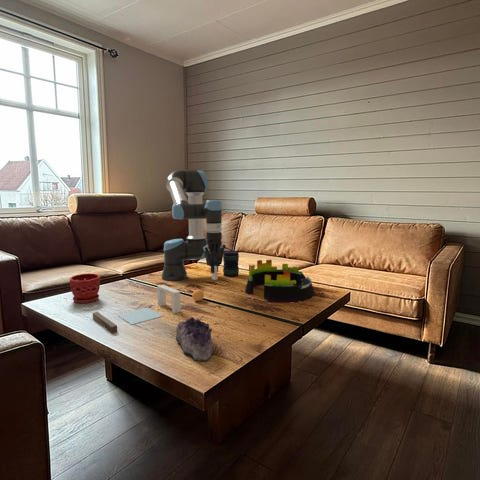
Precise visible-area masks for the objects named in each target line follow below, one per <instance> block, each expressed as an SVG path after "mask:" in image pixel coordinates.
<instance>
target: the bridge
mask: <svg viewBox="0 0 480 480" xmlns="http://www.w3.org/2000/svg"><path fill="white" fill-rule="evenodd" d="M167 294H169V295H171V308H172V310H171V312H172V313H173V314H178V313H181V309H182V308H181V291H180V290H178V289H175V288H172V287H170V286H167V285H165V284H160V285H157V305H158V306H159V307H162V306H166V305H167V300H166V299H167V298H166V297H167Z"/></svg>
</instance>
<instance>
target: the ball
mask: <svg viewBox="0 0 480 480" xmlns="http://www.w3.org/2000/svg"><path fill="white" fill-rule="evenodd" d="M191 295H192V299H193V300H194V301H195V302H200V301H202V300H203V299H204V297H205V294H204V291H203V290H201V289H195V290H193V292H192V294H191Z"/></svg>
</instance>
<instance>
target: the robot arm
mask: <svg viewBox="0 0 480 480" xmlns="http://www.w3.org/2000/svg"><path fill="white" fill-rule="evenodd" d="M165 187H166V189H167V191H168V192H169V194H170V196H171V199H172V203H173V204H172V206H171V214H172V219H174V220H188V236H186V240H184V239H183V238H174V239H170V240H169V239H168V240H166V241H165V242H164V243H163V258H164V259H163V263H164V266H163V269H162V271H161V272H162V273H161V279H162V280H164V281H170V282H174V281H182V280H185V279H188V273H187V270H186V267H185V264H184V263H185V262H184V261H190V260H191V261H192V260H193V261H194V260H198V261H199V260H203V259H205V262H206V265H207V266H209V267H210V273H211V280H218V272H219V267H220V266H221V265H222V263H223V253H224V251H225V249H226V247H227V245H225V244H223V242H222V239H223V236H222V235H223V233H222V230H223V229H222V226H223V225H222V223H223V222H222V219H223V218H222V216H223V215H222V208H223V206H222V201H221V200H220V199H207V200H206V202H205V203H203V195H204V194H205V192H206V191H207V190H208V187H209V182H208V177H207V175H206V172H205V171H203V170H197V169H196V170H195V169H194V170H193V169H192V170H191V169H190V170H189V169H187V170H185V169H178V170H174V171H172V172H171V173H170V174H169V175H168V176H167V178H166V180H165ZM204 220H206V223H205V225H206V226H205V229H206V230H205V231H206V233H205V234H206V235H204V226H203V225H204Z"/></svg>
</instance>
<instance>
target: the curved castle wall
mask: <svg viewBox="0 0 480 480" xmlns="http://www.w3.org/2000/svg"><path fill="white" fill-rule="evenodd" d="M256 261H257V262H256V265H255V264H252V265H251V264H249V265H248V278H247V282H246V285H245V290H244V292H245V294H247V295H249V296H253V295H254V288H257V287H259V286H263V300H264V301H266V302H267V303H277V304H291V303H290V302H294V303H300V302H299V301H301V302H305V301H304V300H306V301H308V300H307V299H309V300H310V298H311V299H313V298H314V297H315V296H314V295H316V293H315V290H314V286H313V283H312V279H311V277H309V276H306V275H304V273H303V271H300V270H299V266H292V267H289V264H288V263H281V264H282V266H281V267H282V268H281V269H278V266H275V265H273V266H272V264H273V261H272V259H266V260H265V262H263V260H262V259H259V260H256ZM313 296H314V297H313ZM312 297H313V298H312Z"/></svg>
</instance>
